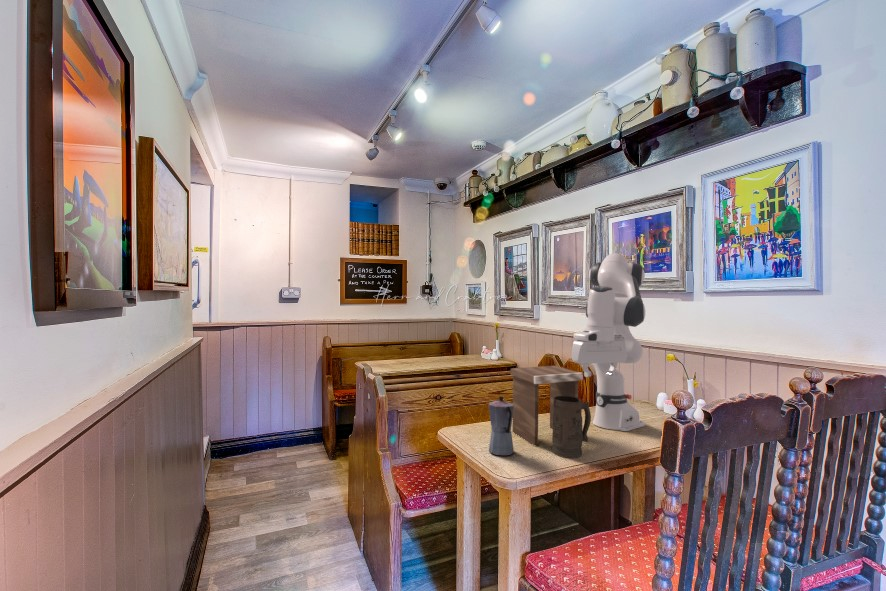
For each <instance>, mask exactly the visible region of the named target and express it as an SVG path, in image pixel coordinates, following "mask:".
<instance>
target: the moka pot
mask: <svg viewBox="0 0 886 591" xmlns="http://www.w3.org/2000/svg"><path fill="white" fill-rule="evenodd" d="M498 399H499V400H494V401H489V403H488V409H489V419H490V420H489V421H490V426H491V427H490V428H491V431H490V432H491V433H490V439H489V440H490V441H489V447H488V452H490V453H491V454H493V455H497V456H511V455H512V454H514V451H515V450H514V444H513V435H512V434H513V433H512V431H511V430H512V427H513V408H514V406H513V402H508V401H504V396H498Z"/></svg>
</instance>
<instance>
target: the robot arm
mask: <svg viewBox="0 0 886 591" xmlns="http://www.w3.org/2000/svg"><path fill="white" fill-rule="evenodd" d="M588 279H589V282H590V283H591V285H592V286H593V287H592V288H590V289H589V293H588V298H587V303H585V304H586V305H585V317H586V318H587V323H586V328H584V329H582V330H580V331H577V332H575V333H574V334H573V339H574V341H573V342H572V346H571V360H572V361H573V363H575V364H579V365H580V366H581V368H582V370H583V377H585V378H591V377H592V371H590V370H589V367H590V364H592V366H593V368H594V371H595V373H596V382H597V384H596V387H597V388H596V392H595V401H596V404H595V410H594V417H593V420H592V423H593V425H595V426H597V427H599V428H603V429H607V430H613V431H615V430H616V431H621V432H629V431H633V430H636V429H640V428H643V427H645V426H646V423H645V422H644V421H643V420H640V413H639V411H638V410H637V408H635V407H634V406H632V405H631V404H630V403H629V402H628V400H632V394H628V393H626V394H625V377H624V375H623V374H622V372H621V371H619V370H618V369H617V368H618V363H619V364H635V363H638V362H639V361H640V359H642V357H643V353H644V352H643V347H642V345H641V343H640V342H639V340H637V339H636V338H635V336H634V335H632V333H631V331H630V328H629V327H634V328H636V327H637V326H639V325H641V324H642V323H643V322H644V321H645V318H646V306H645V304H644V301H643V298H642V295H641V291H640V288H639V287H640V286H642V284H643V283H644V280H645V270H644V268H643V266H642V265H641V264H639V263H636V262H633V263H631V262H628V260H627V258H626V257H625V256H624V254H621V253H618V252H614V253H609V254H608V255H607V256H605V257H604V259H603V260H602V262H601V261H599V262H596V263H594V264H592V265H591V267H590V268H589V272H588ZM627 399H628V400H627Z"/></svg>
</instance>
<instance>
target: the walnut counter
mask: <svg viewBox="0 0 886 591" xmlns="http://www.w3.org/2000/svg"><path fill="white" fill-rule="evenodd" d="M510 376H512V403H513V406H514V408H513V417H512V433H513V432H514V433H515V434H514V433H513V434H514V435H516V434H517V435H516V436H518V435H519V436H520V437H519V436H518V437H519V438H521V437H522V438H523V440H524V439H525V440H524V441H526V442H527V441H528V442H527V443H529V442H530V443H529V444H531V445H532V444H533V445H532V446H534V445H537V446H539V399H540V398H539V397H540V396H539V394H540V393H539V392H540V391H539V390H540V389H539V385H540V384H541V385H542V384H549V385H550V388H549V393H550V394H549V395H550V396H549V397H550V398H549V428H550V429H551V430H553V414H554V405H553V402H554V398H555V397H557V396H570V397H575V398H579V382H580V381H583V380H584V372H579V371H575V370H571V369H570V368H569V369H568V368H565V367H561V366H557V365H543V366H530V367H515V368H510ZM522 438H521V439H522Z"/></svg>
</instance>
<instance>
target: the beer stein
mask: <svg viewBox="0 0 886 591" xmlns="http://www.w3.org/2000/svg"><path fill="white" fill-rule="evenodd" d="M553 405H554V414H553V429H552V440H551V443H552V446H551V451H552V453H553V454H554V453H555V454H554V455H556V454H557V456H560V457H562V456H563V457H562V458H568V457H569V458H570V459H574V457H575V458H578V457H581V456H582V455H583V448H582V446H583V442H589V437H588V431H589V427H590V425H591V421H592V420H591V419H592V415H591V410H590V402H589V401H583V402H582V399H580V398H579V397H578V398H575V397H570V396H557V397H555V398H554V402H553ZM582 410H583V411H584V424H583V416H582Z"/></svg>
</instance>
